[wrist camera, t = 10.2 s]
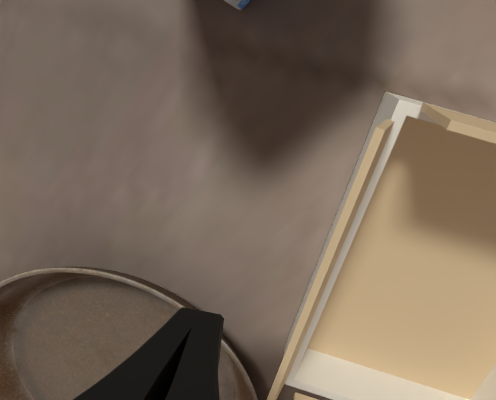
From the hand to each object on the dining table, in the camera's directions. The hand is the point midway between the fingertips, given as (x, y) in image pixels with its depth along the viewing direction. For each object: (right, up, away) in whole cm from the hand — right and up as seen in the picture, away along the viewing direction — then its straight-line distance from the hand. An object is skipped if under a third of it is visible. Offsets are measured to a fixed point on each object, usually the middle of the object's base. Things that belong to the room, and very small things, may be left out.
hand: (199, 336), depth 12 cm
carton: (+13, 0, +8) cm, 15 cm away
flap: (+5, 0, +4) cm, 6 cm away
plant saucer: (-7, -8, +16) cm, 19 cm away
